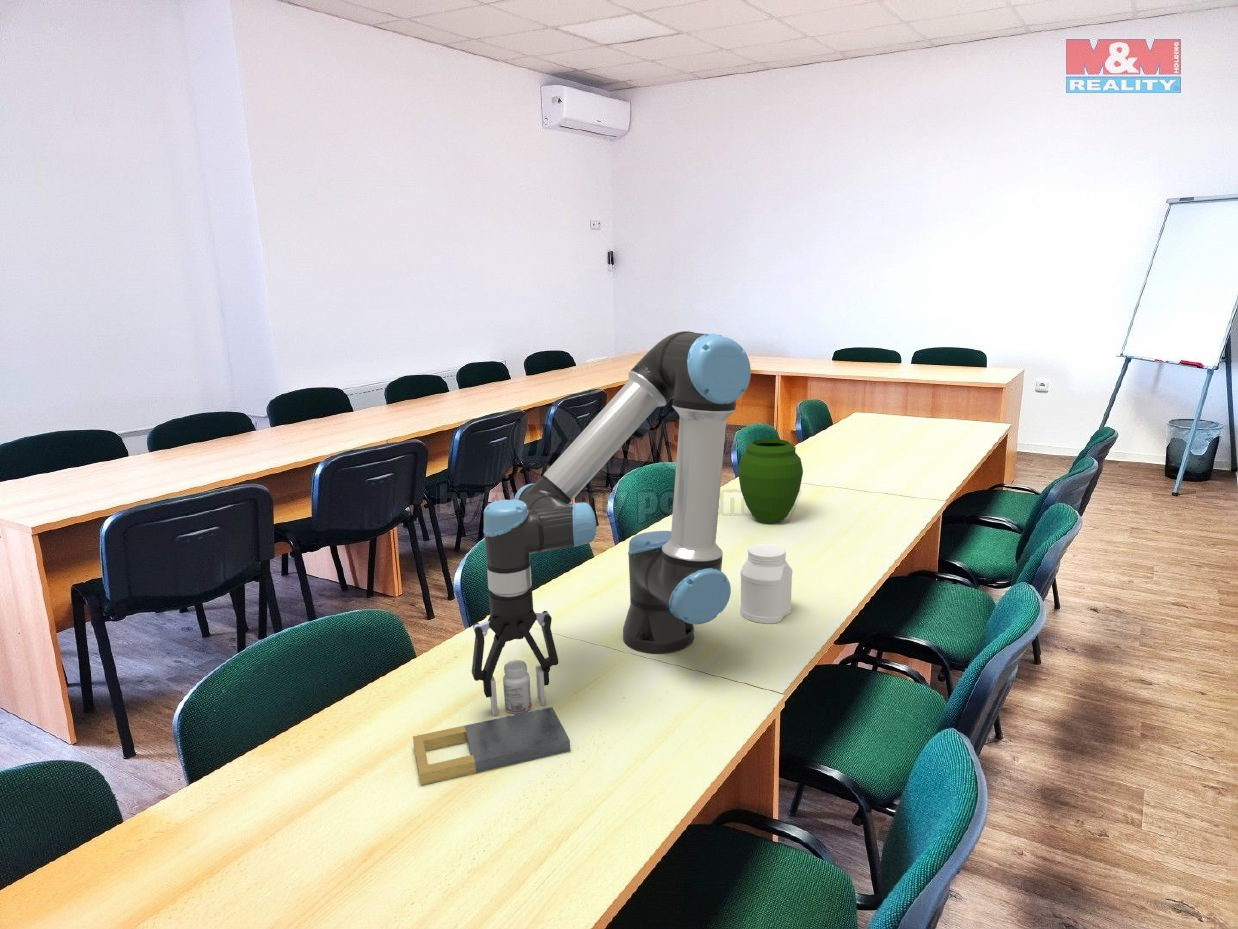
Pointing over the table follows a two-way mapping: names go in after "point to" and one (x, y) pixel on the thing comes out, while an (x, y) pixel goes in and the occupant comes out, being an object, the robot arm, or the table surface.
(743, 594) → the jar
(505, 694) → the pill bottle
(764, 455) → the vase
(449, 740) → the flat tray
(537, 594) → the table surface
